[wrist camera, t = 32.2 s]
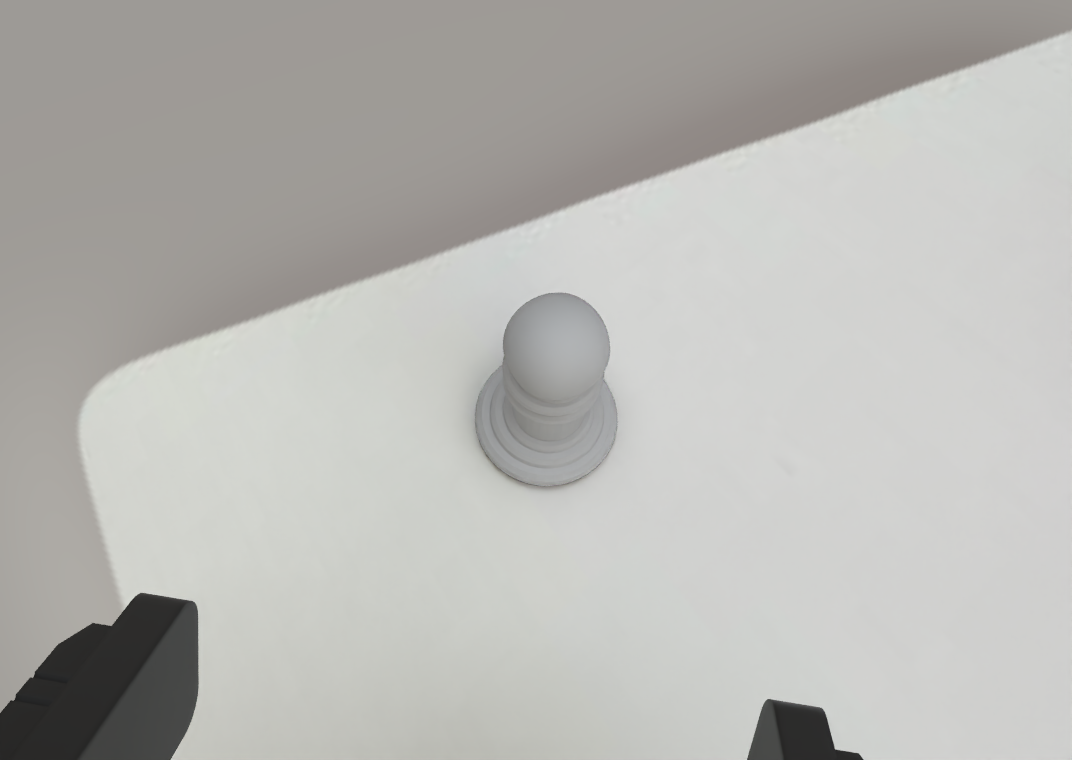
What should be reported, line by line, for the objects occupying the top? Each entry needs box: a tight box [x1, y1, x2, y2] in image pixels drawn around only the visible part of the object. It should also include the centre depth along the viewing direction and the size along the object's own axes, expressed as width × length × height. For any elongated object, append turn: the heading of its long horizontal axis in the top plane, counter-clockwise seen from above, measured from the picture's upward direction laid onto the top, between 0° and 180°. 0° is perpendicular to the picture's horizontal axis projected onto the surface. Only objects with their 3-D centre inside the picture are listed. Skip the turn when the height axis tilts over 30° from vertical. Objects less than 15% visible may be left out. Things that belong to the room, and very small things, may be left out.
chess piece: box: [475, 293, 617, 486], centre depth 33 cm, size 5×5×9 cm
